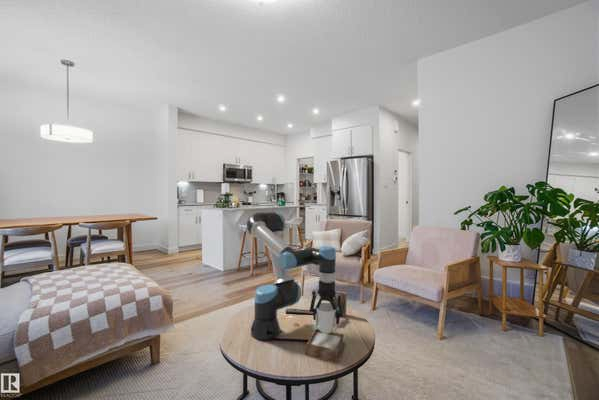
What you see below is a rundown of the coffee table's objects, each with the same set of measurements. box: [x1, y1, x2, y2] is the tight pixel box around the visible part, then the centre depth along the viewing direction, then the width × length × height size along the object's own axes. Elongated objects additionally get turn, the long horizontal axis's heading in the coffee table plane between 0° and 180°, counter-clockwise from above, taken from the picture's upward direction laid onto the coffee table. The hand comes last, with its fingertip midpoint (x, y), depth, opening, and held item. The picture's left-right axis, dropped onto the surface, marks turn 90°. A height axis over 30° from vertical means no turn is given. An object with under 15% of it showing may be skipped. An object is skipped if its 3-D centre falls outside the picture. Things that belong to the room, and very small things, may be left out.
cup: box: [315, 302, 337, 333], centre depth 122 cm, size 10×10×11 cm
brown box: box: [303, 328, 346, 364], centre depth 122 cm, size 16×14×5 cm
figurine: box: [334, 290, 348, 322], centre depth 151 cm, size 14×18×8 cm
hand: (326, 328), depth 122 cm, fingers closed on cup, 8 cm apart
